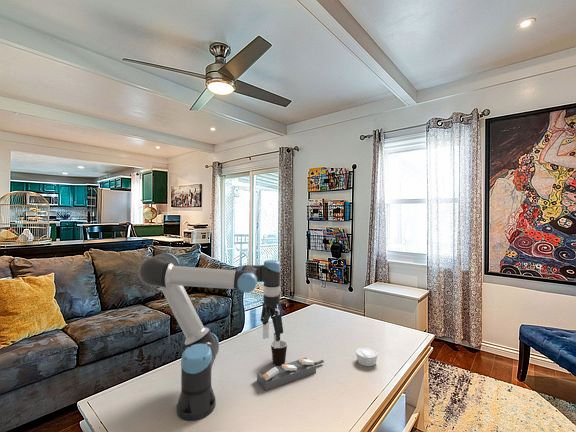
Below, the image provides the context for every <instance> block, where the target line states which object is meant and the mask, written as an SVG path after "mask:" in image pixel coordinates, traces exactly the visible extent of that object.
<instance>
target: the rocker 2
mask: <svg viewBox="0 0 576 432" xmlns="http://www.w3.org/2000/svg"><path fill="white" fill-rule="evenodd" d="M285 364H286V363H285ZM285 364H282V366H281V367H282V368H283V369H284V370H293V371H297V367H295V366H294V365H285Z"/></svg>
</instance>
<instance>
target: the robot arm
mask: <svg viewBox="0 0 576 432" xmlns="http://www.w3.org/2000/svg"><path fill="white" fill-rule="evenodd" d="M138 277H139V279H140V281H141V282H142V283H144V284H145V285H146V286H149V287H154V288H156V290H159V291H161V292H162V294H163V295H164V297H165V299H166V301H167V304H168V305H169V307H170V309H171V312H172V313H173V315H174V317H175V319H176V321H177V323H178V325H179V327H180V328H181V330H182V333H183V334H184V337H185V341H184V345H185V350H184V351H183V352H182V355H181V360H180V366H181V368H180V369H181V370H180V371H181V372H180V373H181V375H180V376H181V377H180V379H181V381H180V382H181V384H180V385H181V386H180V387H181V391H180V393H179V397H178V400H177V402H176V403H177V404H176V415H177V416H178V417H179V418H180V419H182V420H184V421H198V420H201V419H204V418H205V417H208V416H209V415H210V414H211V413H212V412H213V411H214V410H215V408H216V403H217V402H216V399H217V398H216V395H215V392H214V389H213V387H212V386H213V385H212V368H213V365H214V363H215V361H216V358H217V355H218V354H219V353H218V352H219V349H220V348H219V347H220V342H219V339H218V337H217V335H216V334H215V333H213V332H211V330H210V328H208V327H206V326H204V325H203V322H202V320H201V318H200V317H199V314H198V313H197V310H196V309H195V307H194V305H193V303H192V300H191V299H190V296H189V294H188V293H187V291H186V289H185V287H194V288H195V287H198V288H211V289H212V288H213V289H228V290H231V289H232V290H239V291H240V292H243V293H244V294H245V293H246V294H248V293H251V292H253V291H254V290H255V289H256V287H257V285H258V283H263V297H262V298H263V302H262V309H261V315H260V322H261V324H262V339H263V340H266V339H268V338H270V337H269V335H270V333H269V331H270V323H269V321H270V319H271V321H272V325H273V329H274V333H273V341H274V348H279V347H280V340H281V334H284V326H283V318H282V310H281V309H279V308H278V305H279V304H280V303H281V295H280V293H281V263H280V261H279V260H276V259H275V260H273V259H269V260H267V259H266V260H265V261H264V262H263V264H262V265H261V264H260V265H259V264H258V265H257V264H255V265H253V264H251V265H249V264H244V265H241V264H240V265H238V266H237V269H236V270H233V269H224V268H222V269H220V268H210V267H209V268H208V267H196V266H194V267H193V266H182V265H181V266H180V261H179V259H178V258H177V256H176V255H174V254H172V253H170V252H169V253H168V252H164V253H163V252H162V253H158V254H155V255H154V256H152V257H150V258H147V259H145V260H144V261H143V262H141V264H140V266H139V268H138Z"/></svg>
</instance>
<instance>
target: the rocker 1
mask: <svg viewBox="0 0 576 432" xmlns="http://www.w3.org/2000/svg"><path fill="white" fill-rule="evenodd" d="M276 367H277V366H274V367H272V368H270V369H271V370H269V371H268V372H266V373H265V374H263V378H264V379H265V380H266V381H267V380H268V379H270V378H271V377H273V376H274V375H276V374H277V373H279V370H278V369H277V368H276Z"/></svg>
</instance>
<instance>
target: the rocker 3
mask: <svg viewBox="0 0 576 432" xmlns="http://www.w3.org/2000/svg"><path fill="white" fill-rule="evenodd" d="M298 360H299V362H300V363H301V364H306V365H313V364H314V363H315V361H313V360H312V359H308V358H307V359H303V358H299V359H298Z"/></svg>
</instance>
